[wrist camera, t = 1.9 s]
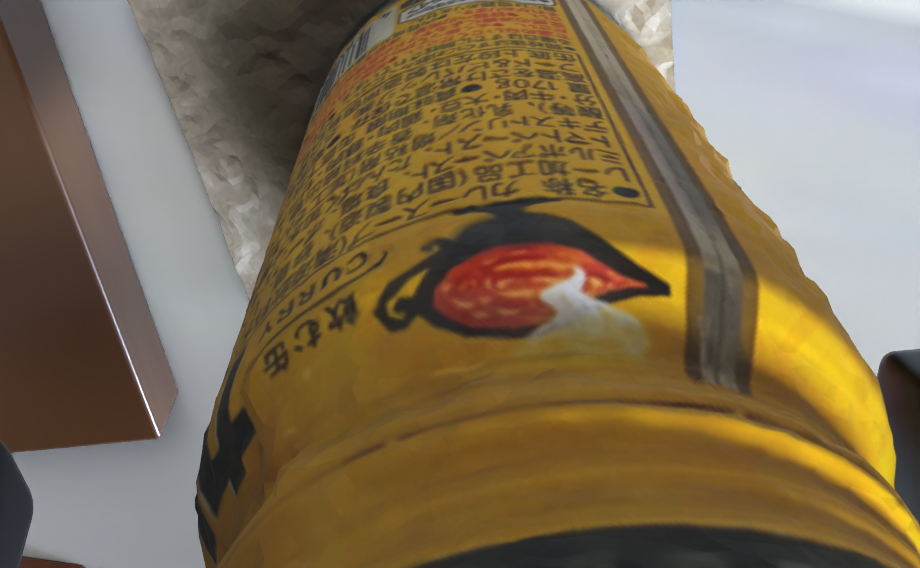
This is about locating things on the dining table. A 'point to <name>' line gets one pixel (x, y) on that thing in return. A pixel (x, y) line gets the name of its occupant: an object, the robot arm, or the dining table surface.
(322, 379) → the condiment
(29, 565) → the ice cream bowl
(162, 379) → the walnut board
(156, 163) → the dining table surface
